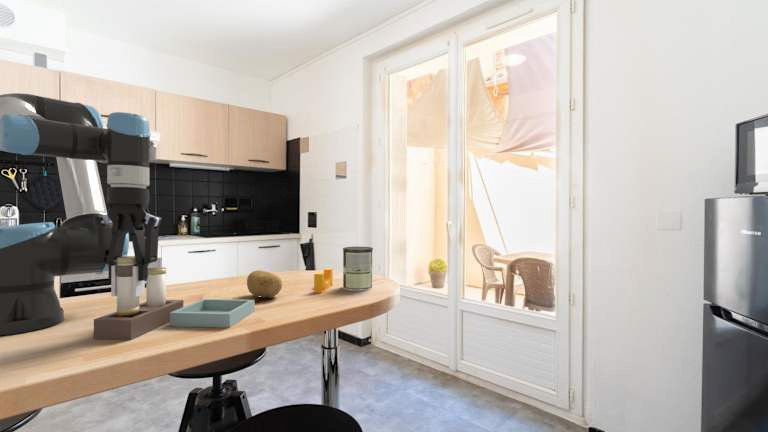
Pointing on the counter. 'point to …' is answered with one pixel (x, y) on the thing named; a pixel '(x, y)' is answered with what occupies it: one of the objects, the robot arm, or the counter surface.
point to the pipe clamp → (323, 281)
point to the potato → (264, 284)
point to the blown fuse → (126, 286)
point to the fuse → (156, 287)
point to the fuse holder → (134, 321)
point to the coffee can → (357, 268)
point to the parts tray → (212, 313)
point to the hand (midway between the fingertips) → (128, 295)
